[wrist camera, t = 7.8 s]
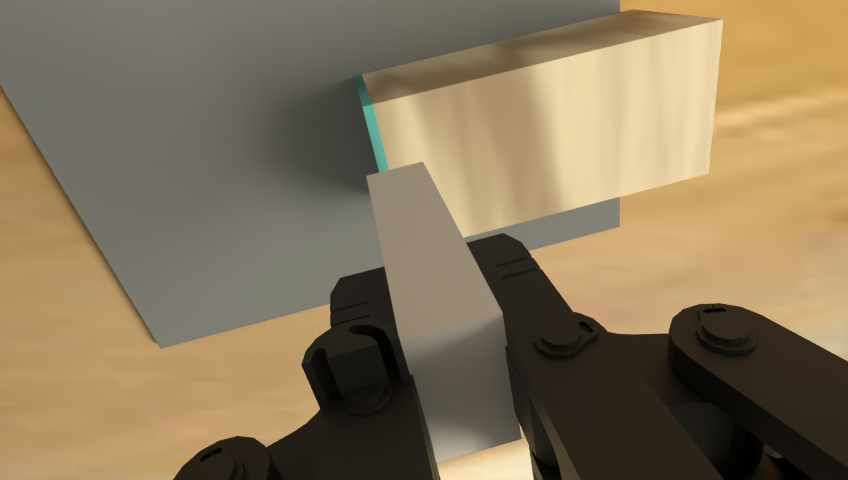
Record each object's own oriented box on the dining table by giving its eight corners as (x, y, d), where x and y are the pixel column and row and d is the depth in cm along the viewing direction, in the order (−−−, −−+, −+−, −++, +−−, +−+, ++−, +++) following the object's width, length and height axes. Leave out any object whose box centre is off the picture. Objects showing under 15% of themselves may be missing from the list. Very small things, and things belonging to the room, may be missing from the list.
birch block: (400, 254, 16) (708, 173, 17) (362, 106, 14) (723, 19, 15) (384, 196, 21) (630, 133, 21) (353, 76, 18) (632, 9, 19)
